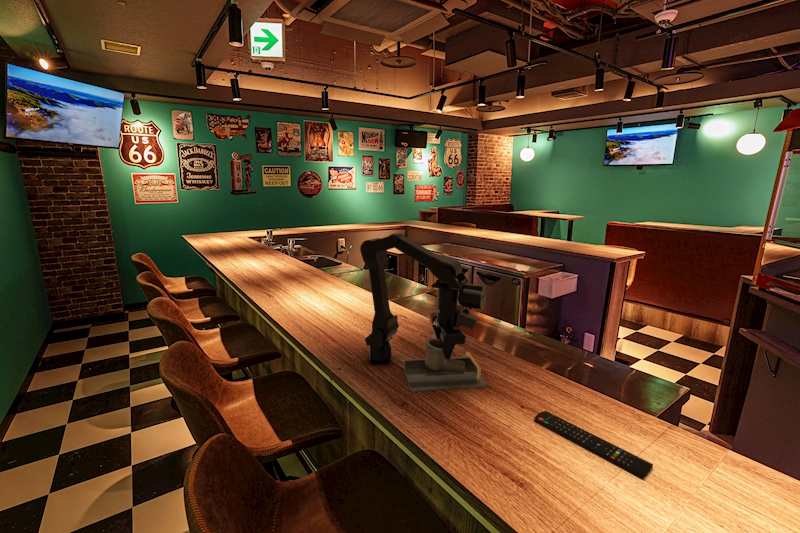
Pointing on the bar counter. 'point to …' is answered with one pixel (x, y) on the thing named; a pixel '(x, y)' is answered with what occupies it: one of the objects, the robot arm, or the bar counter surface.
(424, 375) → the pipe cradle
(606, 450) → the remote control
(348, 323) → the bar counter surface
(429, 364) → the pipe
